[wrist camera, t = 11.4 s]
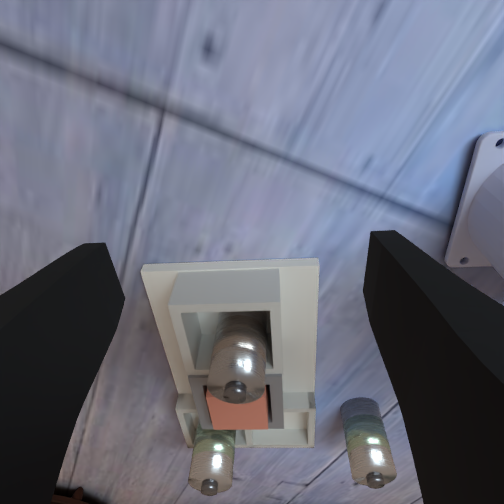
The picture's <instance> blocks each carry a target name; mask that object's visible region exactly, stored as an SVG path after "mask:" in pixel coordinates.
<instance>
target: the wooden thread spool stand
mask: <svg viewBox="0 0 504 504" xmlns="http://www.w3.org/2000/svg"><path fill="white" fill-rule="evenodd" d="M82 497H83V488H82V487H79V488H78V489H77V490H76V491H75V492H74V494H73V496H72V498H69V497H65V496H60V495H54V494H53V497H52V500H51V504H89V503H86V502H83V501H82Z"/></svg>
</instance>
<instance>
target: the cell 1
mask: <svg viewBox="0 0 504 504" xmlns="http://www.w3.org/2000/svg"><path fill="white" fill-rule="evenodd" d="M235 439H236V430H214V429H202V427H201V424H200V420H198V426H197V430H196V436H195V442H194V448H193V454H192V462H191V468H190V473H189V479H188V482H189V484H190V486H191V487H193V488H194V489H196V490H199V491H201V493H202V494H204V495H207V496H213V495H216V494H217V493H218V492H223V491H226V490H228V489H230V487H231V486H232V475H233V464H234V452H235Z"/></svg>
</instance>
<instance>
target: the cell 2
mask: <svg viewBox="0 0 504 504" xmlns="http://www.w3.org/2000/svg"><path fill="white" fill-rule="evenodd" d="M341 416H342V421H343V428H344V434H345V440H346V446H347V452H348V457H349V462H350V467H351V473H352V478H353V480H354V481H355V482H357V483H359V484H361V485H366V486H368V487H370V488H374V489H377V488H382V487H383V486H384V485H385V484H387V483H389V482H391V481H393V480H394V479H395V478H396V476H397V473H396V469H395V466H394V462H393V458H392V455H391V450H390V446H389V442H388V439H387V435H386V431H385V428H384V424H383V421H382V417H381V414H380V410H379V406H378V404H377V403H376V402H375V401H374V400H372V399H369V398H354V399H351V400H348V401H346V402H345V403H344V404H343V405H342V406H341Z"/></svg>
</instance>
